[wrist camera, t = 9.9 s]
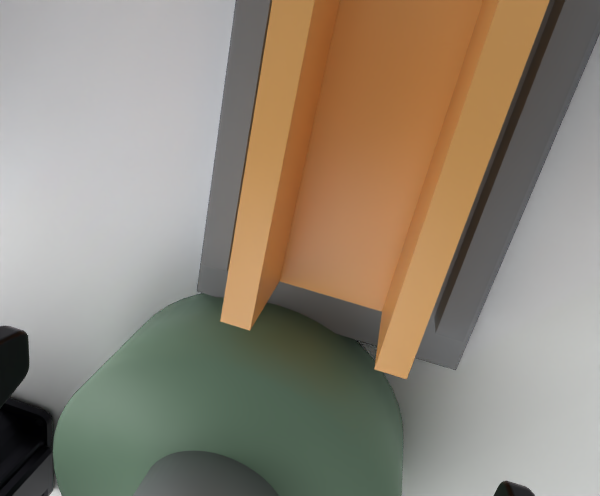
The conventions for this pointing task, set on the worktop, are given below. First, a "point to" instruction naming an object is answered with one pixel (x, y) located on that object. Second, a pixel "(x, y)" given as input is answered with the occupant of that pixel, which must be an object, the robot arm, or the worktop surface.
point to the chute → (372, 152)
